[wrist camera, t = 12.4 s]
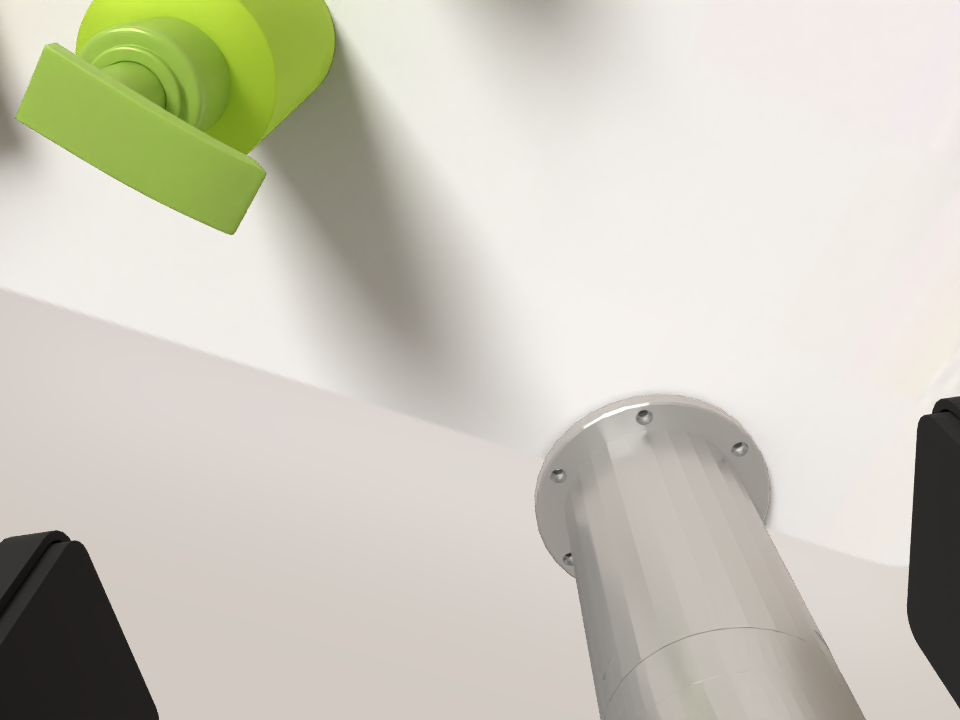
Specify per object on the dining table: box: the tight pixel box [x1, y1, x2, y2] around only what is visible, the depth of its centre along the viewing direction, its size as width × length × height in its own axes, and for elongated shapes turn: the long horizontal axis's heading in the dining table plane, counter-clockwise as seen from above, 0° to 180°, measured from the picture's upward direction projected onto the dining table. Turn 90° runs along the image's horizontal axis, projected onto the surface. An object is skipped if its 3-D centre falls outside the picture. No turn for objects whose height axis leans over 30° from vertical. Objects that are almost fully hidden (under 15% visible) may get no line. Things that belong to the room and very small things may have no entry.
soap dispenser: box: [16, 0, 335, 235], centre depth 29 cm, size 6×7×20 cm
